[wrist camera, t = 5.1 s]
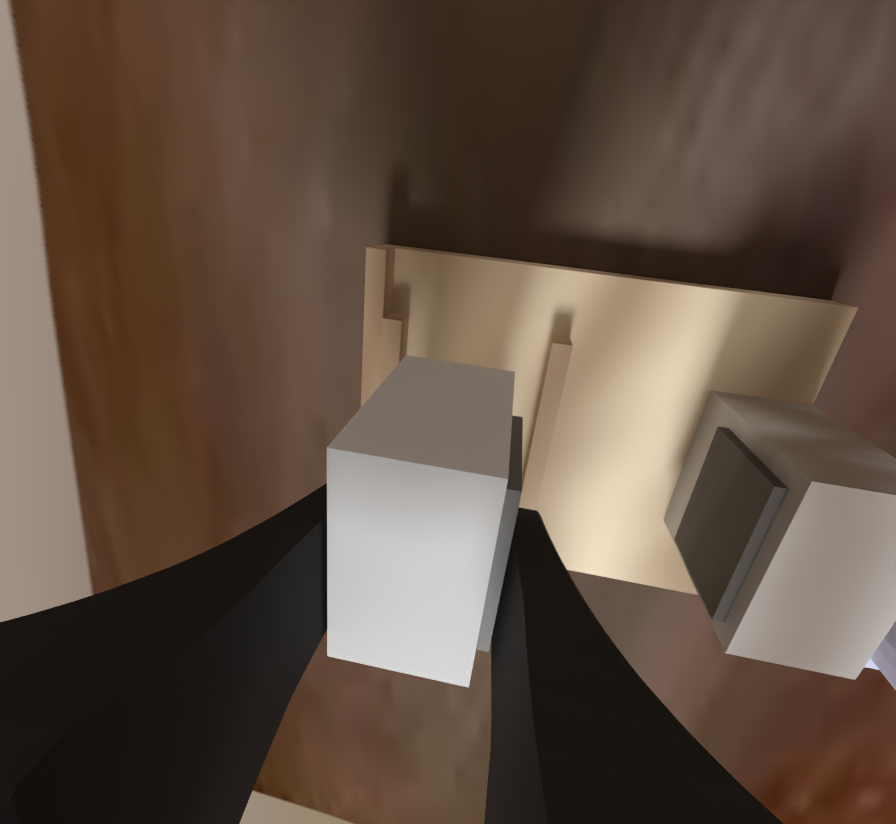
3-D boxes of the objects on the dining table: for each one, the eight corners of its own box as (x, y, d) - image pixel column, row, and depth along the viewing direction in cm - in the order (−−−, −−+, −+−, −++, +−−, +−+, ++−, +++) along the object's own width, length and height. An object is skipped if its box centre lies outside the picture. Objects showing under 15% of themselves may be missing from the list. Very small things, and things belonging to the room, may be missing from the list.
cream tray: (831, 300, 14) (1075, 363, 8) (709, 576, 18) (802, 755, 12) (387, 244, 15) (294, 258, 9) (373, 513, 20) (304, 644, 14)
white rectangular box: (526, 373, 12) (527, 482, 7) (497, 523, 14) (483, 690, 9) (406, 355, 12) (326, 447, 7) (395, 504, 14) (327, 655, 10)
